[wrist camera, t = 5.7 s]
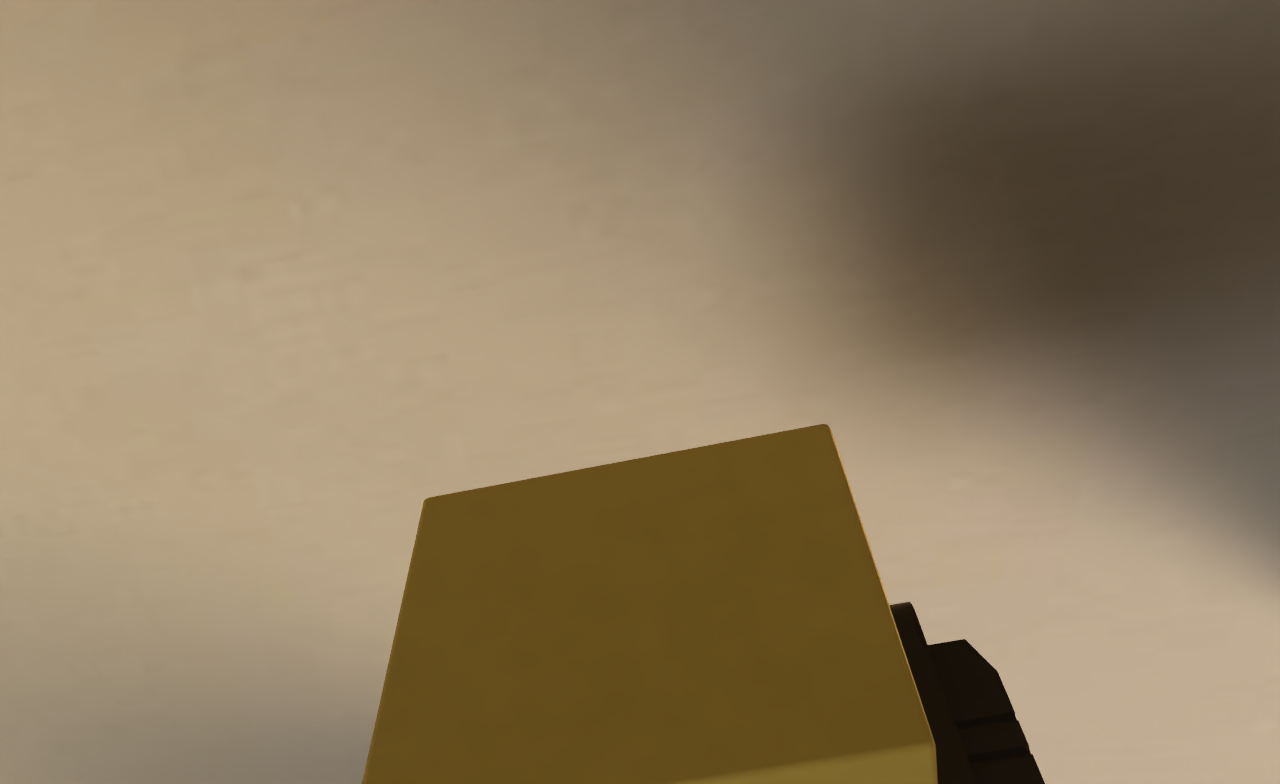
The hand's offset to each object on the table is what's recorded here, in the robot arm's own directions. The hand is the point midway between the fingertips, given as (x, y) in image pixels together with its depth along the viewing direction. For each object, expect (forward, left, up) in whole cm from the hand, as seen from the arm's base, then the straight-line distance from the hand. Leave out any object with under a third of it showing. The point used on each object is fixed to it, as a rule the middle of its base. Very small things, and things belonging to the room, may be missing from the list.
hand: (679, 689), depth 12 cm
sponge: (0, 0, 0) cm, 0 cm away
